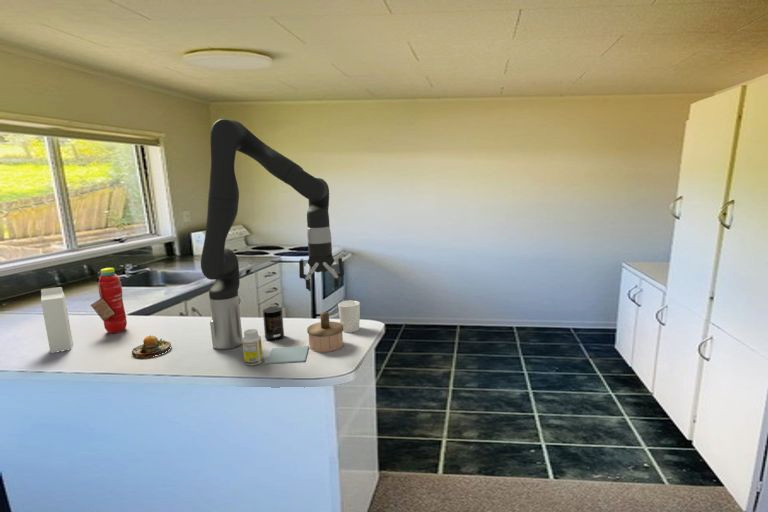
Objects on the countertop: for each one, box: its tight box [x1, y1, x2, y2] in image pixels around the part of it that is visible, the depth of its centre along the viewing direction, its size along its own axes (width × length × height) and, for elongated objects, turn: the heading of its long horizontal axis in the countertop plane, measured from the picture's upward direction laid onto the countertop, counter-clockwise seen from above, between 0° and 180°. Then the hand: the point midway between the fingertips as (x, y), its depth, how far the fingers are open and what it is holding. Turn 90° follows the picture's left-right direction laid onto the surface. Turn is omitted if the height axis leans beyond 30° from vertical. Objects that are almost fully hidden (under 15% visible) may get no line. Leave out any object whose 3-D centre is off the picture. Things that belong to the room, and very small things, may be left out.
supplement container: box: [262, 306, 285, 342], centre depth 159 cm, size 7×7×10 cm
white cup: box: [337, 300, 361, 333], centre depth 165 cm, size 8×8×10 cm
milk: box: [40, 286, 74, 354], centre depth 155 cm, size 6×6×22 cm
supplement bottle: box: [242, 328, 264, 366], centre depth 138 cm, size 6×6×10 cm
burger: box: [131, 335, 172, 359], centre depth 150 cm, size 12×12×8 cm
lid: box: [306, 311, 344, 337], centre depth 149 cm, size 12×12×6 cm
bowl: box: [308, 331, 344, 353], centre depth 150 cm, size 11×11×6 cm
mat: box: [265, 345, 310, 365], centre depth 143 cm, size 12×12×1 cm
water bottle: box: [90, 267, 128, 334], centre depth 170 cm, size 12×8×25 cm, turn 164°
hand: (322, 289), depth 147 cm, fingers open, 8 cm apart
